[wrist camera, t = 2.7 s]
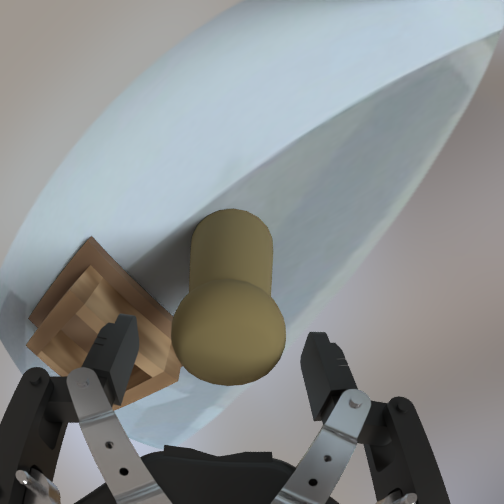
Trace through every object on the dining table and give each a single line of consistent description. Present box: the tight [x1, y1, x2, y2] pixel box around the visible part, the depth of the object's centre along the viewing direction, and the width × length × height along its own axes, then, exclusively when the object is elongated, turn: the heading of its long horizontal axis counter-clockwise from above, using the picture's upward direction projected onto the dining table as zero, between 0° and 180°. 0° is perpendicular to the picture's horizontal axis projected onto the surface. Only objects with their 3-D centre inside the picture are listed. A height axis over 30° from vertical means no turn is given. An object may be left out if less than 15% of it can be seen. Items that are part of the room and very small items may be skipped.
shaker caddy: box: [26, 236, 183, 411], centre depth 22 cm, size 14×14×4 cm
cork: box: [171, 209, 286, 386], centre depth 16 cm, size 6×6×11 cm
